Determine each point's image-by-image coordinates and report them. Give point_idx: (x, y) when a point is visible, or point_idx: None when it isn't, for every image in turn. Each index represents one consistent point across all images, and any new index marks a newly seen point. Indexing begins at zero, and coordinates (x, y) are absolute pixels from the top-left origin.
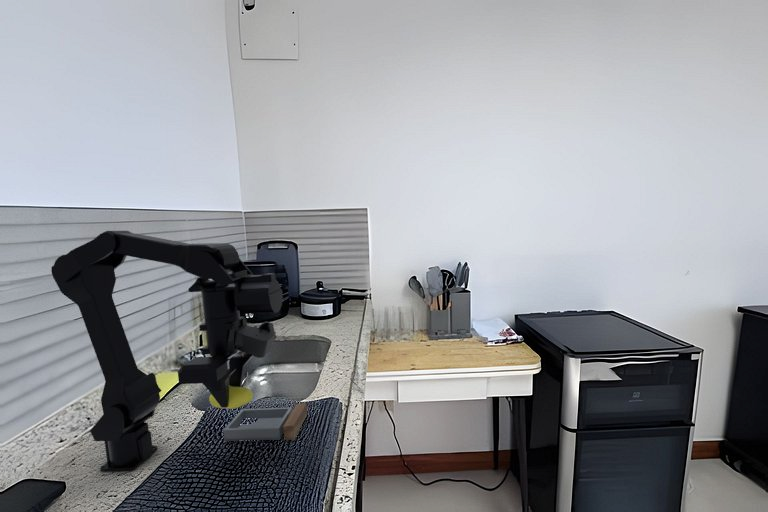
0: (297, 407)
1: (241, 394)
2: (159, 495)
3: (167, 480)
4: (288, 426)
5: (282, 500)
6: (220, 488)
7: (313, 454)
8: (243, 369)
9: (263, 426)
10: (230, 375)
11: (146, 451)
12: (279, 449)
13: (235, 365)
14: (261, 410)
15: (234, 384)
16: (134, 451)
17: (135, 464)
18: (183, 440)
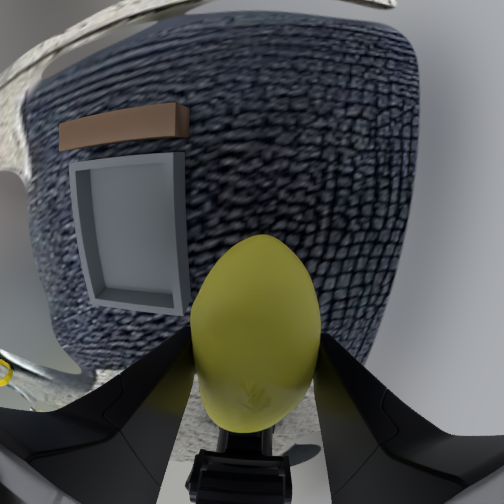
0: (76, 139)
1: (302, 303)
2: (355, 336)
3: None
4: (175, 118)
5: (408, 90)
6: (364, 233)
7: (257, 44)
8: (109, 408)
9: (130, 223)
10: (441, 454)
11: None
12: (226, 137)
13: (129, 472)
14: (86, 251)
15: (183, 384)
16: None
17: None
18: None
